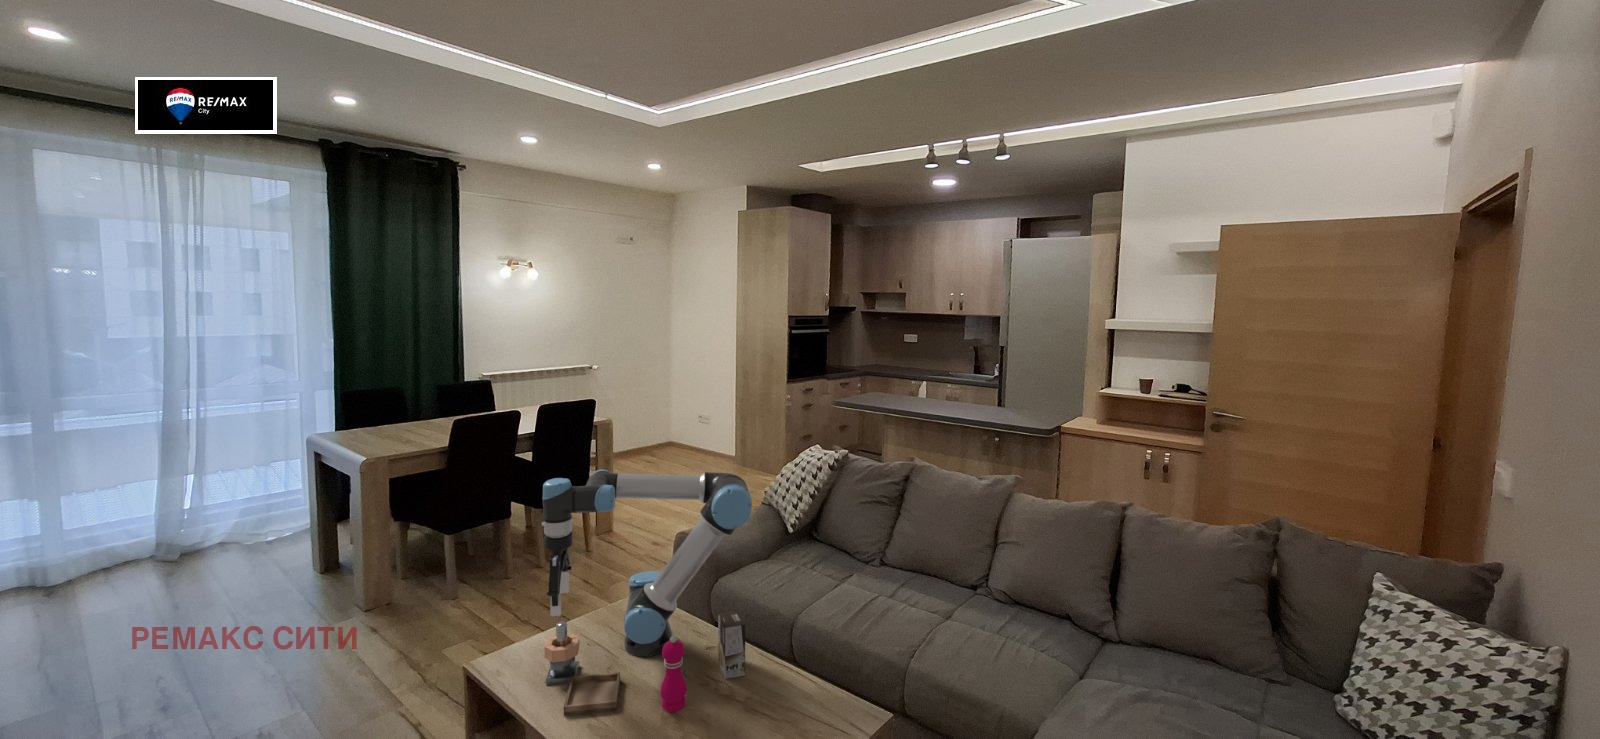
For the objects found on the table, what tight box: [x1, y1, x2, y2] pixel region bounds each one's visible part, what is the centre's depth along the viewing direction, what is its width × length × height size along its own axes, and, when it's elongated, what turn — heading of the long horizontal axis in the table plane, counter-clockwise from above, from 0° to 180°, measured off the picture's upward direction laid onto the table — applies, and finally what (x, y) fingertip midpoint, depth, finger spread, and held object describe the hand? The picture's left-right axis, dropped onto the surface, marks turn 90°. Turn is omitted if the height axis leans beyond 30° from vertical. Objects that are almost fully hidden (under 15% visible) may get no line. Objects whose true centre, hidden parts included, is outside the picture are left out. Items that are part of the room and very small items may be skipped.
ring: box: [544, 632, 580, 662], centre depth 185 cm, size 9×9×4 cm
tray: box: [563, 671, 621, 716], centre depth 176 cm, size 13×13×2 cm
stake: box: [545, 620, 580, 686], centre depth 185 cm, size 8×8×16 cm
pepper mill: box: [659, 635, 688, 713], centre depth 172 cm, size 7×7×20 cm
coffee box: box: [717, 610, 746, 680], centre depth 189 cm, size 9×6×16 cm
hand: (560, 603), depth 183 cm, fingers open, 13 cm apart
